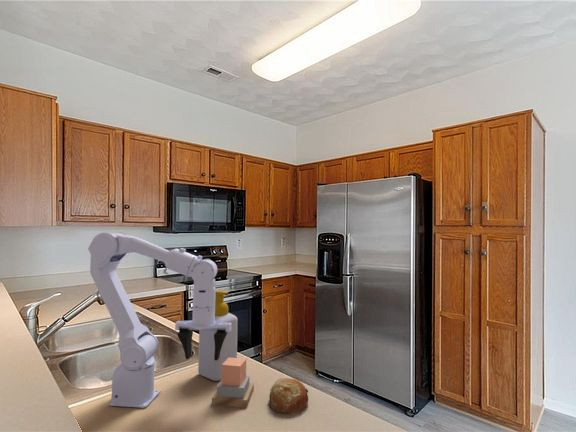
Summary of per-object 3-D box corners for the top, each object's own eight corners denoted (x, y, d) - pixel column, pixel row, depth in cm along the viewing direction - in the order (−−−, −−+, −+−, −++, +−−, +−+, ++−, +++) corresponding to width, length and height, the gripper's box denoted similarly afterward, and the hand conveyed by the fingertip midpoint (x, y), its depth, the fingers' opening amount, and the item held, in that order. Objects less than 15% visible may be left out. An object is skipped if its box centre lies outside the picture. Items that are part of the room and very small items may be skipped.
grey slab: (216, 396, 83) (216, 386, 83) (224, 384, 90) (224, 374, 90) (243, 398, 82) (244, 388, 83) (249, 385, 89) (249, 375, 90)
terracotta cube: (228, 376, 89) (228, 357, 90) (246, 377, 88) (246, 358, 89) (221, 384, 84) (221, 364, 85) (239, 386, 83) (240, 366, 84)
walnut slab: (211, 408, 82) (211, 398, 82) (221, 391, 91) (222, 381, 91) (246, 410, 81) (247, 400, 82) (253, 392, 90) (253, 383, 91)
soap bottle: (215, 383, 94) (217, 295, 95) (196, 374, 100) (198, 291, 101) (238, 372, 101) (240, 290, 103) (218, 365, 107) (220, 287, 108)
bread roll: (270, 410, 87) (258, 384, 86) (302, 387, 91) (291, 362, 90) (283, 431, 78) (269, 402, 77) (318, 405, 81) (306, 377, 81)
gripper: (170, 308, 83) (169, 363, 82) (227, 310, 82) (225, 365, 81) (182, 302, 90) (180, 352, 89) (233, 304, 89) (232, 355, 88)
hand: (202, 358), depth 86 cm, fingers open, 7 cm apart
